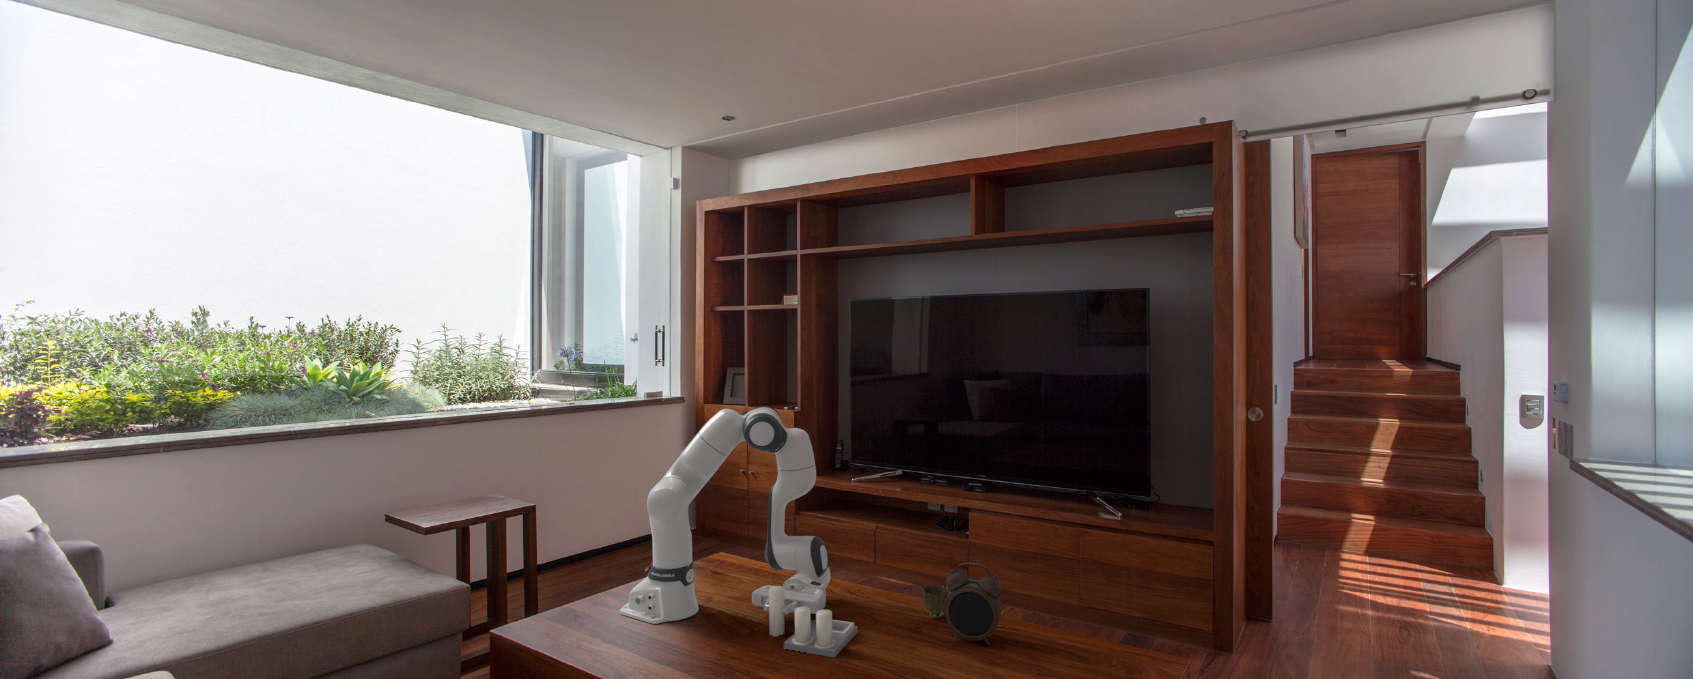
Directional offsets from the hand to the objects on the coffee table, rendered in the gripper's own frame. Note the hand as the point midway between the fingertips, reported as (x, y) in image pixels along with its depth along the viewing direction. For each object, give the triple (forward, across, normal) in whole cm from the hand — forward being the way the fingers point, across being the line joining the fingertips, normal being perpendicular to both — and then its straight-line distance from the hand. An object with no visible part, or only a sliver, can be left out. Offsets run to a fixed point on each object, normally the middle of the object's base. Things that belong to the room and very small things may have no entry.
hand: (775, 609), depth 193 cm
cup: (-26, +37, +7) cm, 46 cm away
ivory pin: (-1, 0, +7) cm, 7 cm away
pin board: (-1, +13, +7) cm, 15 cm away
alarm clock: (-14, +50, +7) cm, 52 cm away
